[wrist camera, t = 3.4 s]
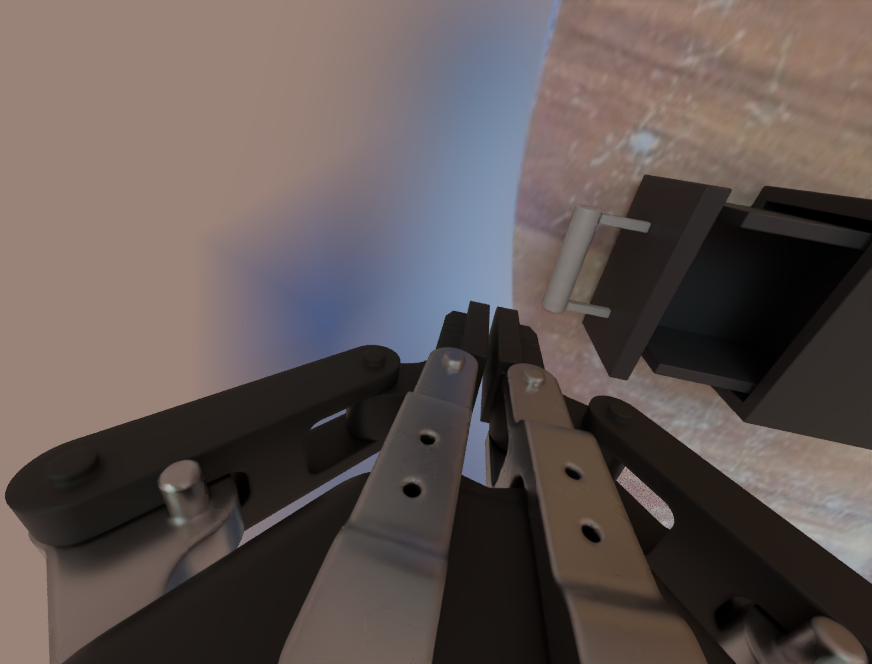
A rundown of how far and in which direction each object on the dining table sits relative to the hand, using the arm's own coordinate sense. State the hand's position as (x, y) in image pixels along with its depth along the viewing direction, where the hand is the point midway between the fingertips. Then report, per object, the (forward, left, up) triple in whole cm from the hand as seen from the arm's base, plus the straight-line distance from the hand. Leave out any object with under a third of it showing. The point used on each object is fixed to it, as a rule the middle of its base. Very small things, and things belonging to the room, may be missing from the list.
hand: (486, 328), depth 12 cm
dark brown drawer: (+14, 0, -16) cm, 21 cm away
